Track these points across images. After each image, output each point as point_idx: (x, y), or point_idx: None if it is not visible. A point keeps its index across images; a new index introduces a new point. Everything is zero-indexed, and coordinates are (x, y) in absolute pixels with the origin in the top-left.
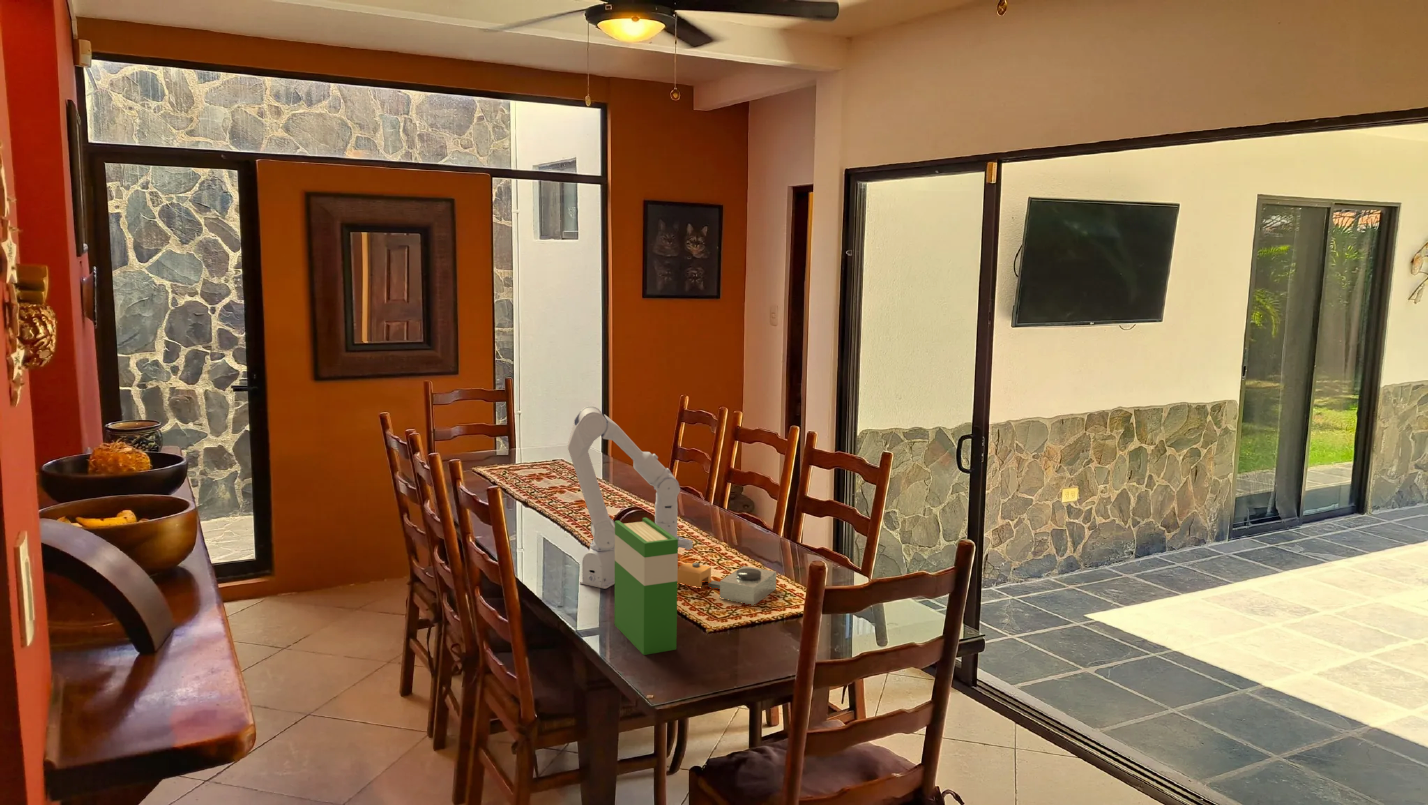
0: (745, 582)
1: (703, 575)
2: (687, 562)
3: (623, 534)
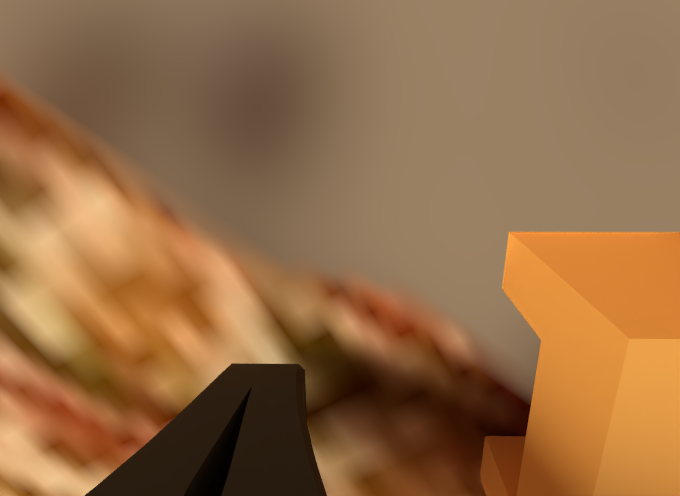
0: None
1: None
2: (646, 339)
3: None
